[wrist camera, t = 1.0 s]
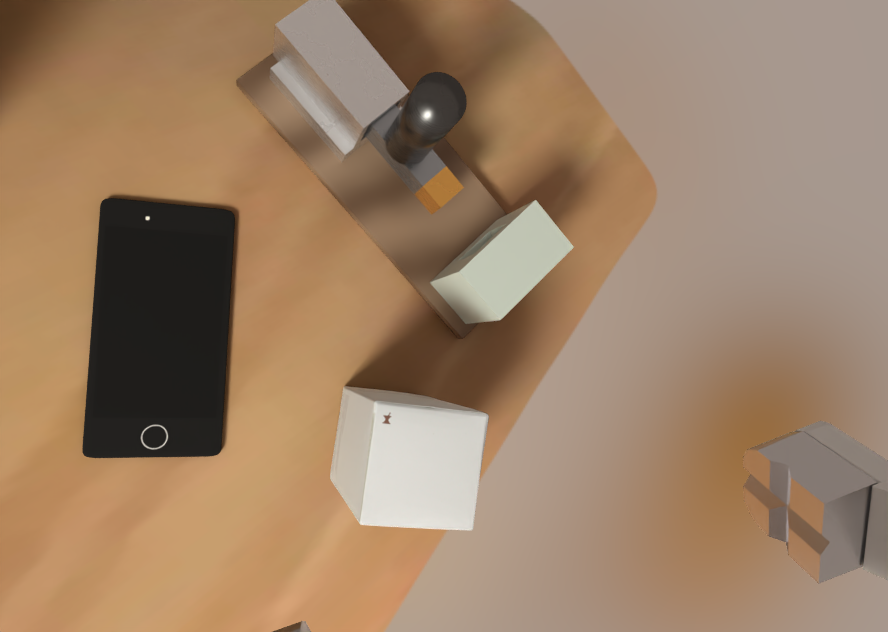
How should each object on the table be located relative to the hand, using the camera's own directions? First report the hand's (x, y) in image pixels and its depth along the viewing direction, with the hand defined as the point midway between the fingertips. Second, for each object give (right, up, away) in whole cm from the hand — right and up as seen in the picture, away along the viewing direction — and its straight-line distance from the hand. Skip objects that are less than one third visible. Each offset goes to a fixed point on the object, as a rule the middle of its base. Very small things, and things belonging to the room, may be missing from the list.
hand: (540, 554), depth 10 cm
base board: (-5, +15, +39) cm, 42 cm away
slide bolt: (-7, +18, +34) cm, 39 cm away
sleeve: (-10, +21, +36) cm, 43 cm away
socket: (+1, +8, +39) cm, 40 cm away
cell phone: (-22, +3, +33) cm, 40 cm away
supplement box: (-7, -5, +37) cm, 38 cm away
